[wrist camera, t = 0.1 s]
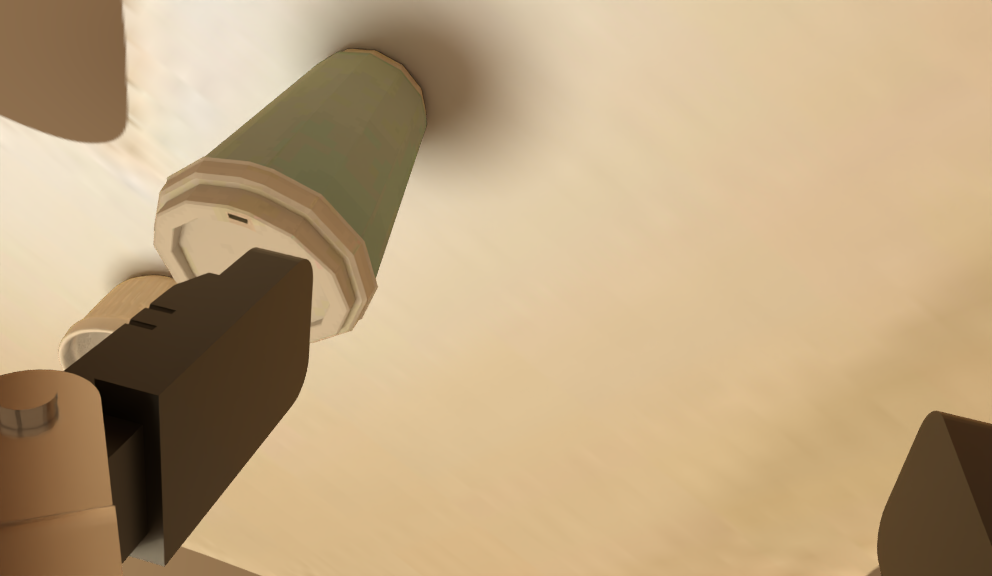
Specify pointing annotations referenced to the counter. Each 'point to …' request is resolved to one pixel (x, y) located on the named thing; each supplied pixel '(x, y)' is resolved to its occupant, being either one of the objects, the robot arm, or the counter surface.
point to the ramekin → (111, 315)
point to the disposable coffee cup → (305, 184)
